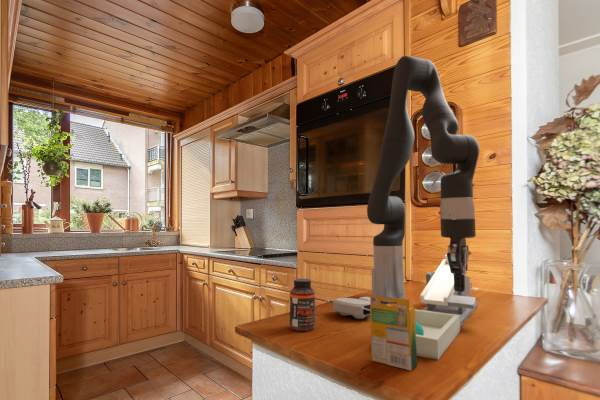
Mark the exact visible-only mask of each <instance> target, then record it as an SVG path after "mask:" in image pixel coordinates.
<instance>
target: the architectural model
mask: <svg viewBox="0 0 600 400" xmlns="http://www.w3.org/2000/svg"><path fill="white" fill-rule="evenodd" d="M479 289H480V287H474V286H472V282H471V276H466V275H465V294H466V296H467V297H472V291H478V290H479ZM453 295H457V296H458V293H457V291H455V292H454V294H453Z"/></svg>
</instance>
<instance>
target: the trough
mask: <svg viewBox="0 0 600 400" xmlns="http://www.w3.org/2000/svg"><path fill="white" fill-rule="evenodd" d="M444 257H445V258H443V259H442V261H441V263H440V264H439V266H438V267H437V269H436V270H435V271H434V272H435V273H434V275H433V276H432V278H431V279H430V281H429V282H428V284H427V285H426V286H425V287H424V288H423V290H422V292H421V293H420V295H419V298H420V303H421V304H426V305H427V304H435V305H443V306H452V307H460V308H469V309H474V306H475V303H476V302H477V297H476V296H475V297H474V296H471V297H467V296H457V295H453V294H454V292H455V290H454V275H453V273H451V271H450V267H449V262H448V258H447V254H445V256H444Z"/></svg>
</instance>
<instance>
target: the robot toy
mask: <svg viewBox="0 0 600 400" xmlns="http://www.w3.org/2000/svg"><path fill="white" fill-rule="evenodd" d="M326 301H327V302H330V303H333V304H332V306H333V307H332V308H333V309H332V310H334V311H335V312H337V313H339V314H340V315H341V316H344V317H345V316H346V317H347V316H352V317H353V318H355V319H357V320H363V319H364V318H366V317H367V316H371V314H370V306H371V303H370V296H361V297H359V298H358V297H357V298H351V297H339V298H335V299H334V300H330V299H326ZM381 303H382V304H387V305H390V304H388V302H381Z"/></svg>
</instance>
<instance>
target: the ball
mask: <svg viewBox="0 0 600 400" xmlns="http://www.w3.org/2000/svg"><path fill="white" fill-rule="evenodd" d="M415 324H416V334H417V335H423V336H424V330H423V328H422V326H421V325H420V324H419V323H417V322H415Z"/></svg>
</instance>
